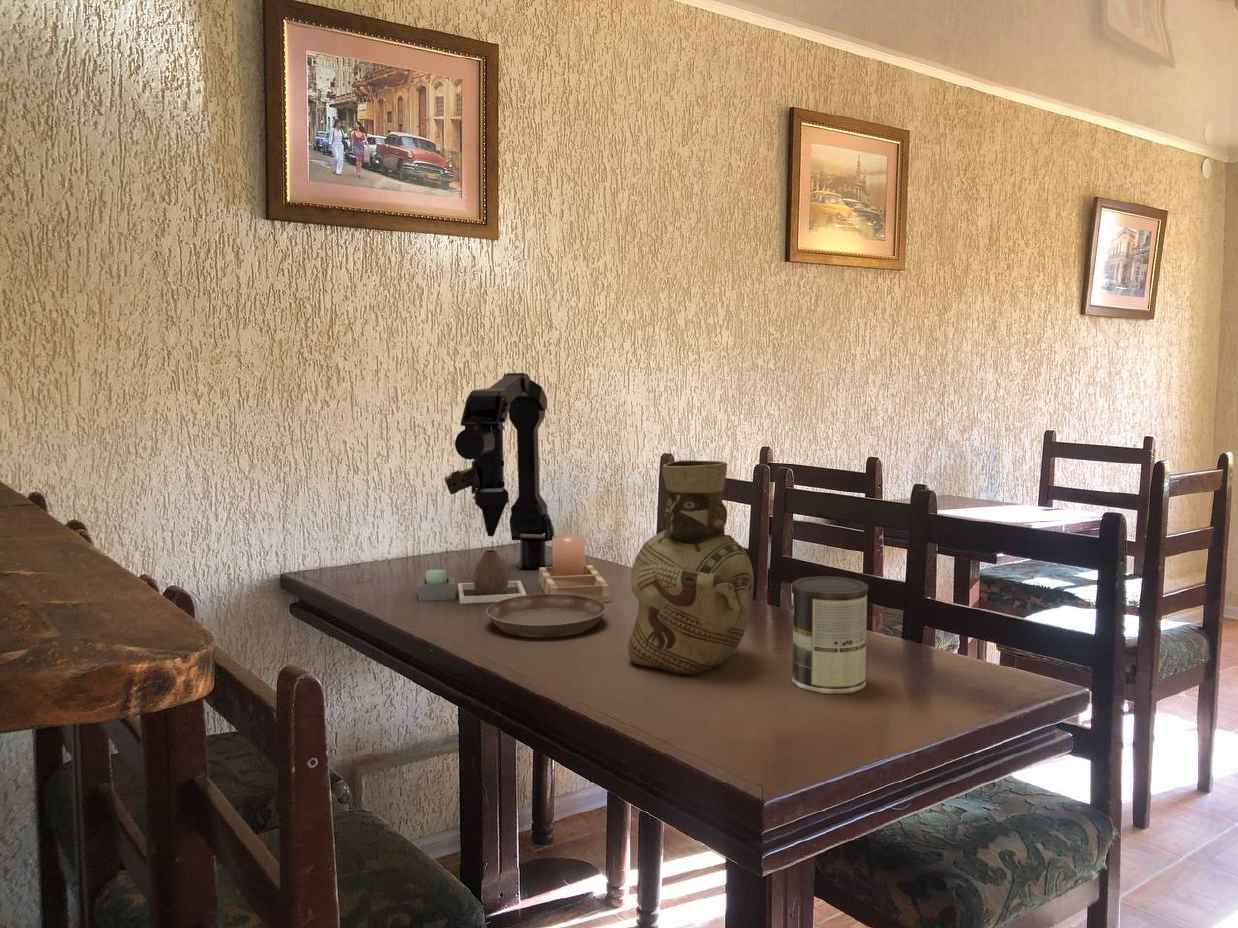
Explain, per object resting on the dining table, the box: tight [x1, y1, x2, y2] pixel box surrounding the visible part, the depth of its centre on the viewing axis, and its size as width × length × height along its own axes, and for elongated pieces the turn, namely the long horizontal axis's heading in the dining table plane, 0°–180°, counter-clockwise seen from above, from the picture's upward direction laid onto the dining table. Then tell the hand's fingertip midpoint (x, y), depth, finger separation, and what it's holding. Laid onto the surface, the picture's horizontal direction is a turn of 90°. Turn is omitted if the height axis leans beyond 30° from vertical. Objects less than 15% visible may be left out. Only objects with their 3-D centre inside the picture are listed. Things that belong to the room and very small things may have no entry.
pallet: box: [538, 564, 610, 603], centre depth 196 cm, size 20×11×3 cm, turn 11°
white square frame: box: [457, 580, 527, 605], centre depth 194 cm, size 13×13×1 cm
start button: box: [425, 568, 448, 584], centre depth 192 cm, size 4×4×4 cm
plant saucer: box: [486, 593, 607, 638], centre depth 171 cm, size 21×21×3 cm
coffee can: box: [791, 575, 869, 695], centre depth 138 cm, size 10×10×14 cm
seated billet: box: [551, 533, 586, 576], centre depth 200 cm, size 7×7×9 cm
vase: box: [472, 549, 510, 596], centre depth 193 cm, size 7×7×9 cm
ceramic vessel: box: [627, 459, 754, 676], centre depth 148 cm, size 19×21×30 cm
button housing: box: [417, 576, 457, 602], centre depth 193 cm, size 7×7×3 cm
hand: (489, 534), depth 193 cm, fingers open, 4 cm apart
